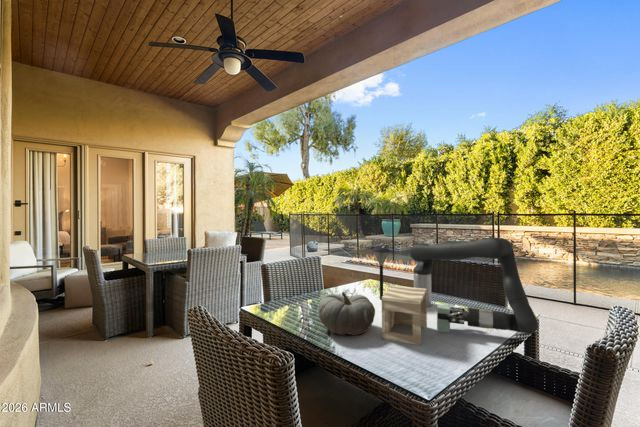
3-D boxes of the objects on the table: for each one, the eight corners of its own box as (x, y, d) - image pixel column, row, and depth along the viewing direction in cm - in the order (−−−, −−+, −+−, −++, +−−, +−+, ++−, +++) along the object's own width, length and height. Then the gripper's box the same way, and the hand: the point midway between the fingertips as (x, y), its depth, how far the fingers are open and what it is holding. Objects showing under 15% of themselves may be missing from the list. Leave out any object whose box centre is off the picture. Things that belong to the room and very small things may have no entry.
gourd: (308, 317, 149) (315, 281, 148) (355, 319, 158) (362, 285, 157) (327, 344, 126) (335, 302, 124) (381, 344, 134) (389, 305, 133)
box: (392, 322, 149) (392, 285, 148) (426, 326, 142) (426, 288, 142) (382, 338, 130) (381, 297, 130) (420, 345, 124) (420, 301, 124)
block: (438, 326, 143) (438, 304, 142) (450, 328, 140) (450, 305, 140) (437, 330, 138) (437, 307, 138) (449, 332, 136) (449, 309, 136)
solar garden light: (369, 301, 181) (369, 249, 181) (372, 295, 193) (371, 246, 192) (391, 303, 178) (391, 249, 177) (393, 297, 189) (392, 246, 189)
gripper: (479, 304, 139) (439, 300, 146) (480, 314, 126) (437, 309, 133) (479, 321, 140) (439, 316, 147) (480, 333, 127) (437, 327, 134)
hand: (438, 313), depth 140 cm, fingers open, 8 cm apart
